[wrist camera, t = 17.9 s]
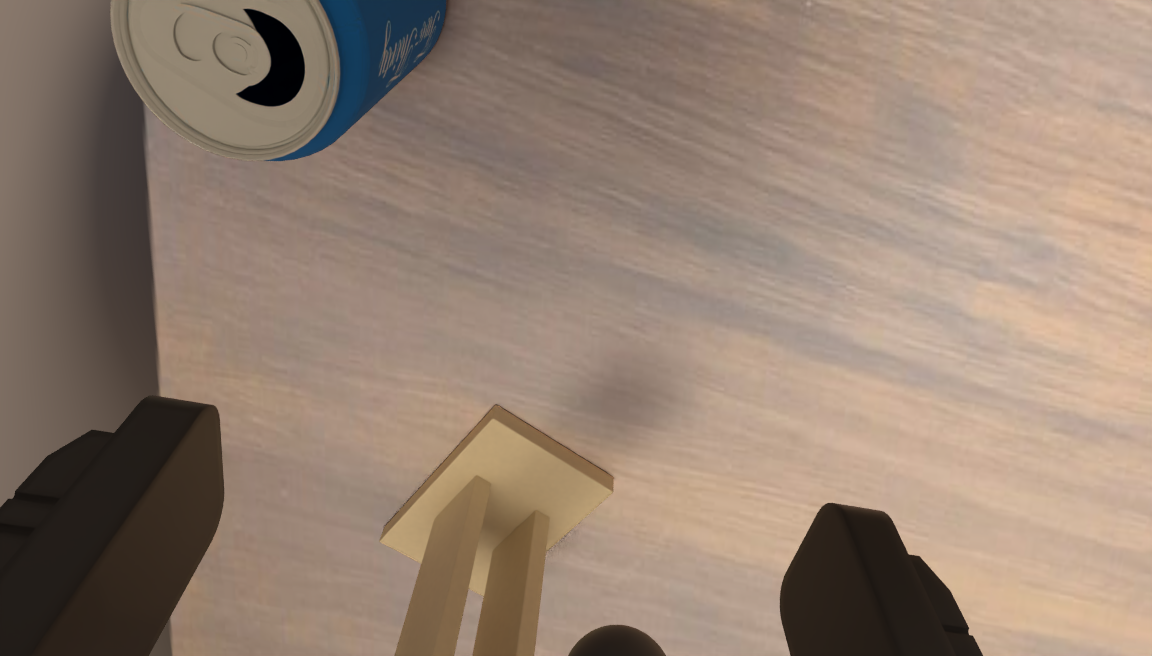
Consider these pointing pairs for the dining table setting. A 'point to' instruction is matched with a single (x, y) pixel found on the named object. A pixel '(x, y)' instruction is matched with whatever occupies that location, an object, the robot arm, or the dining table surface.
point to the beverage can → (269, 66)
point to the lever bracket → (490, 535)
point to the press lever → (616, 643)
